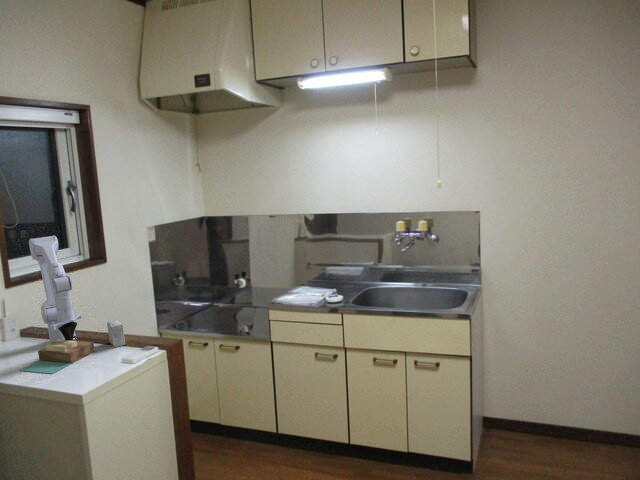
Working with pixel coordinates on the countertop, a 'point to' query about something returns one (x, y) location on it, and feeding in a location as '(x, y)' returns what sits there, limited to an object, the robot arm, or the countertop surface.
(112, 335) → the medicine box
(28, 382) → the countertop surface
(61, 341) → the cream rectangular block
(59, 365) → the mat
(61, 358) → the block
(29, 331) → the countertop surface
